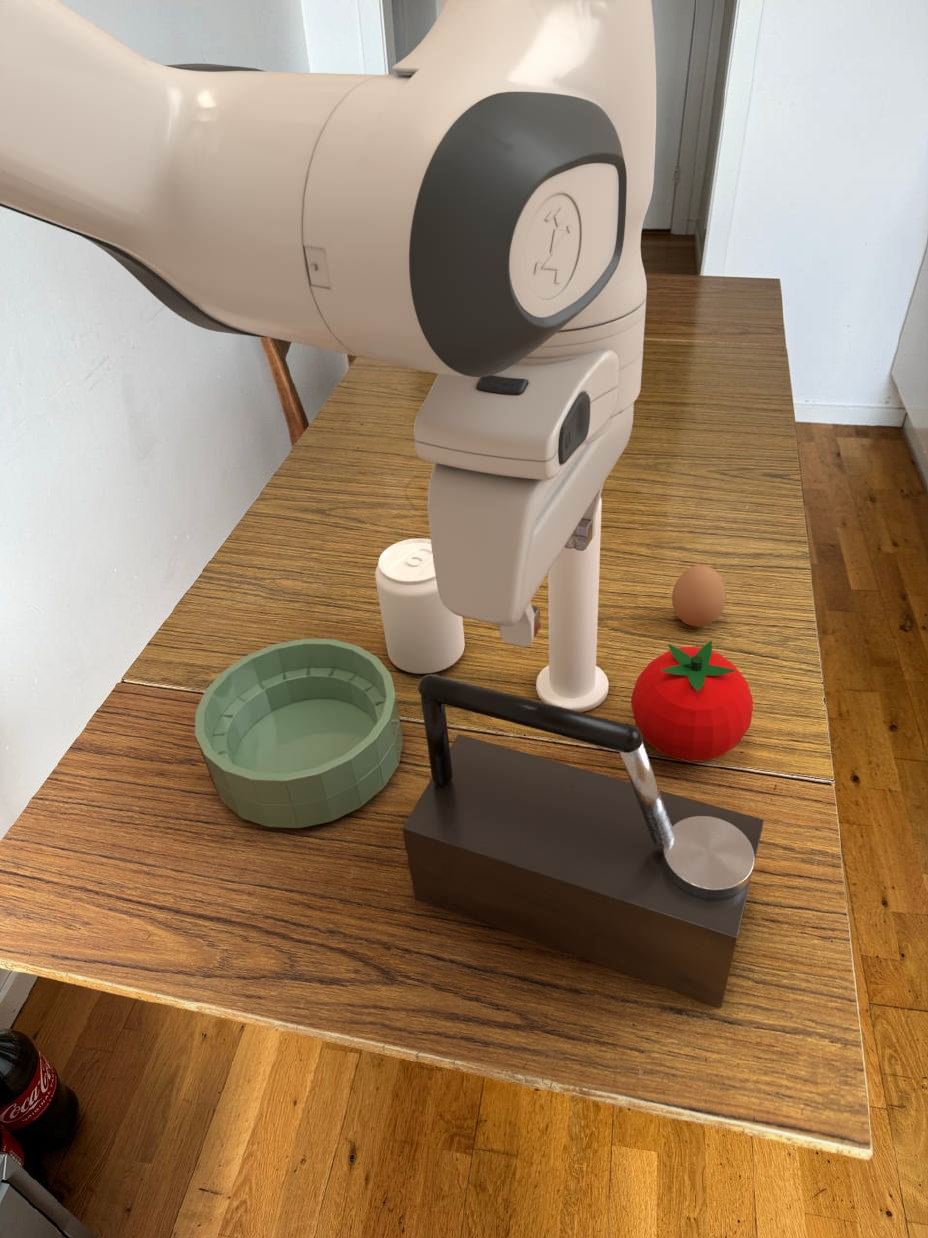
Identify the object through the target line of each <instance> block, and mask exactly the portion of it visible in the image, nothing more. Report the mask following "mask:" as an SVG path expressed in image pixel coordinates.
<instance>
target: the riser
mask: <svg viewBox="0 0 928 1238" xmlns="http://www.w3.org/2000/svg"><path fill="white" fill-rule="evenodd" d="M450 755H451V764H452V772H453V777H452V780H451V781H450V783H449V784H447V785H444V786H440V785H437V784H436V783H435V782H434V781H433V779H432V778H431V779H430V781H429V782H428V783H427V785H426V787H425V789H424V790H423V792H422V794H421V795H420V797H419V799H418V801H417V802H416V804H415V805H414V807H413V809H412V811H411V812H410V814H409V816H408V817H407V819H406V821H405V823H404V824H403V826H402V827H401V830H402V835H403V840H404V846H405V851H406V856H407V862H408V869H409V873H410V878H411V884H412V890H413V895H414V899H416V900H419V901H421V902H423V903H427V904H429V905H432V906H435V907H437V908H440V909H444V910H446V911H449V912H451V913H454V914H457V915H460V916H462V917H466V918H469V919H471V920H474V921H477V922H479V923H483V924H485V925H487V926H491V927H493V928H496V929H499V930H501V931H505V932H507V933H510V934H513V935H516V936H518V937H522V938H524V939H527V940H530V941H533V942H535V943H538V944H540V945H544V946H546V947H548V948H552V949H555V950H558V951H560V952H563V953H566V954H568V955H572V956H574V957H576V958H580V959H583V960H584V961H585V960H586V961H588V962H590V963H594V964H596V965H600V966H601V967H605V968H608V969H610V970H613V971H616V972H619V973H622V974H624V975H626V976H629V977H633V978H635V979H639V980H641V981H644V982H647V983H650V984H652V985H655V986H658V987H661V988H664V989H667V990H669V991H672V992H675V993H677V994H680V995H683V996H686V997H689V998H691V999H694V1000H697V1001H700V1002H703V1003H705V1004H708V1005H711V1006H714V1007H717V1008H720V1009H722V1006H723V1002H724V998H725V994H726V989H727V985H728V980H729V976H730V971H731V967H732V963H733V960H734V954H735V950H736V947H737V941H738V938H739V937H738V936H739V934H740V933H739V932H740V928H741V924H742V920H743V916H744V910H745V906H746V901H747V897H748V893H749V889H750V885H751V880H752V878H751V879H750V881H749V883H748V884H747V886H746V887H745V888H744V889H743V890H742V891H741V892H739V893H738V894H736V895H734V896H732V897H729V898H725V899H719V900H709V899H702V898H699V897H695V896H693V895H690V894H688V893H686V892H685V891H683V890H682V889H680V888H679V887H678V886H676V885H675V884H674V883H673V882H672V880H671V879H670V878H669V876H668V875H667V873H666V871H665V869H664V866H663V862H662V851H663V847H659V846H657V845H656V844H654V842H653V841H652V839H651V836H650V833H649V831H648V828H647V825H646V822H645V820H644V817H643V814H642V812H641V809H640V806H639V803H638V801H637V798H636V795H635V793H634V790H633V787H632V784H631V782H630V781H627V780H625V779H620V778H617V777H615V776H610V775H607V774H603V773H599V772H595V771H592V770H589V769H584V768H581V767H578V766H574V765H570V764H567V763H564V762H560V761H556V760H553V759H550V758H546V757H542V756H538V755H535V754H532V753H528V752H525V751H521V750H517V749H513V748H510V747H506V746H503V745H499V744H496V743H491V742H490V741H485V740H481V739H478V738H474V737H470V736H468V735H463V734H459V733H458V734H457V735H456V736H455V738H454V740H453V742H452V743H451V745H450ZM660 793H661V796H662V799H663V802H664V805H665V808H666V810H667V813H668V816H669V819H670V822H671V825H672V826H674V825H675V824H676V823H678V822H679V821H681V820H683V819H686V818H689V817H694V816H710V817H715V818H719V819H722V820H724V821H727V822H729V823H731V824H732V825H734V826H735V827H737V828H738V829H739V830H740V831H741V832H743V834H744V835H745V836H746V837H747V838H748V840H749V841H750V843H751V845H752V848H753V851H754V857H755V861H754V864H755V863H756V858H757V854H758V850H759V845H760V841H761V836H762V832H763V828H764V822H765V819H764V818H760V817H757V816H753V815H749V814H746V813H742V812H738V811H736V810H733V809H732V810H731V809H728V808H724V807H721V806H717V805H713V804H710V803H707V802H703V801H699V800H696V799H692V798H689V797H685V796H682V795H678V794H674V793H670V792H667V791H663V790H660Z"/></svg>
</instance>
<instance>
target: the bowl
mask: <svg viewBox="0 0 928 1238" xmlns="http://www.w3.org/2000/svg"><path fill="white" fill-rule="evenodd" d="M399 714H400V713H399V708H398V702H397V695H396V690H395V685H394V681H393V676H392V674H391V672H390V671H389V669H387V667H386V666H385V665H384V664H383V662H382V661H381V659H380V658H379V657H377V655H374V653H371V652H369V651H368V650H366V649H364V648H362V647H361V646H359V645H357V644H354V643H349V642H347V641H346V642H345V641H343V640H339V639H333V638H299V639H295V640H290V641H289V640H288V641H283V642H280V643H279V642H277V643H275V644H272V645H269V646H267V647H264V648H261V649H259V650H256V651H254V652H251V653H249V654H247V655H245V656H243V657H241V658H240V659H239V660H237V661H235V662H234V663H233V664H231V665H230V666H228V667H227V668H226V669H224V670H223V671H222V672H221V673H220V674H219V675H218V676H217V677H216V678H215V679H214V680H213V681H212V682H211V684H210V685H209V686H207V688H206V689H205V691H204V692H203V695H202V697H201V699H200V701H199V704H198V706H197V708H196V709H195V713H194V738H195V740H196V743H197V744H198V747H199V750H200V752H201V755H202V758H203V761H204V764H205V767H206V768H207V772H208V774H209V777H210V780H211V782H212V784H213V786H214V788H215V790H216V793H217V795H218V797H219V799H220V801H221V803H223V804H224V805H225V806H227V808H228V809H230V810H231V811H232V812H234V813H235V814H236V815H237V816H238V817H240V818H241V819H244V820H247V821H250V822H253V823H255V824H259V825H261V826H264V827H268V828H286V829H302V828H306V827H311V826H316V825H320V824H321V825H322V824H325V823H326V824H327V823H332V822H333V821H335V820H338V819H340V818H342V817H344V816H346V815H348V814H350V813H351V812H354V811H356V810H358V809H361V808H362V807H363V806H364V805H365V804H366V803H367V802H369V801H370V800H371V799H372V798H373V797H375V796H376V795H377V794H378V793H380V792H381V791H382V790H383V789H384V788H385V787H386V785H387V784H388V782H389V781H390V780H391V777H392V776H393V775H394V773H395V772H396V770H397V768H398V766H399V764H400V759H401V755H402V749H403V746H404V738H403V732H402V731H403V730H402V726H401V720H400V715H399Z"/></svg>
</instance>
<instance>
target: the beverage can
mask: <svg viewBox="0 0 928 1238" xmlns="http://www.w3.org/2000/svg"><path fill="white" fill-rule="evenodd" d="M377 563H378V564H377V566H376V568H375V572H374V578H375V584H376V591H377V597H378V603H379V608H380V614H381V622H382V627H383V632H384V638H385V639H384V640H385V645H386V650H387V656H388V659H389V660H390V662H391V663H392V664H393V666H395V667H396V668H398V669H399V670H402V671H405V672H407V673H410V674H416V675H417V674H418V675H429V674H434V673H438V672H441V671H445V670H446V669H449V668H450V667H451V666H453V665H454V664H456V663H457V662H458V661H459V659H460V658H461V657H462V655H463V653H464V651H465V648H466V647H465V646H466V645H465V632H464V631H465V630H464V620H463V617H461V616H458V615H456V614H454V613H452V612H451V611H450V610H449V609H448V608H447V607H446V606H444V604H443V603H442V601H441V598H440V595H439V591H438V587H437V581H436V575H435V569H434V562H433V555H432V547H431V539H430V538H422V537H421V538H410V539H404V540H400V541H398V542H396V543H393V544H391V545H390V546H388V547H387V548H386V549H384V551H382V552H381V554H380V556H379V558H378V562H377Z"/></svg>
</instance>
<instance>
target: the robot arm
mask: <svg viewBox="0 0 928 1238" xmlns="http://www.w3.org/2000/svg"><path fill="white" fill-rule="evenodd" d="M653 13H654V12H653V4H652V0H441V12H440V13H439V15H438V17H437V19H436V20H435V22H434V23H433V25H432V26H431V28H430V30H429V31H428V32H427V33H426V35H425V36H424V38H423V39H422V40H421V41H420V43H419V44H418V45H416V47H415V48H414V49H413V50H411V52H410V53H409V54H407V56H405V57H404V58H402V59H401V60H400V61H398V62H397V63H396V64H394V65H393V66H392V68H391V69H392V71H393V72H396V73H404V74H365V73H363V74H361V73H330V72H327V73H326V72H299V71H298V72H295V71H268V70H267V71H266V70H263V69H260V68H254V67H247V66H246V67H245V66H238V65H237V66H236V65H227V64H226V65H225V64H215V63H180V64H179V63H178V64H160V63H158V62H155V61H152V60H150V59H148V58H146V57H145V56H143V55H142V54H139V53H138V52H136V51H135V50H133V49H131V48H130V47H129V46H127V45H125V44H124V43H123V42H121V41H120V40H118V39H116V38H115V37H113V36H112V35H110V34H109V33H107V32H106V31H104V29H102V28H100V27H99V26H97V25H95V24H94V23H93V22H91V21H90V20H88V19H86V18H85V17H84V16H82V15H81V14H79V13H78V12H76V11H74V10H73V9H71V7H68V6H67V5H66V4H64V3H62V2H61V1H59V0H0V207H1V208H4V209H7V210H9V211H12V212H15V213H18V214H20V215H23V216H26V217H28V218H31V219H34V220H36V221H39V222H43V223H45V224H47V225H49V226H52V227H56V228H59V229H60V230H64V231H67V232H69V233H72V234H75V235H77V236H79V237H81V238H83V239H85V240H86V241H89V242H91V243H92V244H94V245H95V246H97V247H98V248H100V249H101V250H102V251H104V252H106V253H107V254H108V255H109V256H110V257H112V258H113V259H114V260H115V261H116V262H118V263H119V264H120V265H121V266H122V267H123V268H125V270H126V271H128V272H129V274H131V275H132V276H133V277H134V278H135V279H136V280H137V281H138V282H139V283H140V284H141V285H142V286H143V287H144V288H145V289H146V290H148V292H150V293H151V294H152V295H153V296H154V297H155V298H156V299H157V300H158V301H159V302H161V303H162V304H163V305H164V306H165V307H166V308H168V309H169V310H171V312H173V313H175V314H176V315H177V316H178V317H180V318H182V319H184V320H185V321H187V322H188V323H191V324H193V325H195V326H197V327H200V328H202V329H204V330H209V331H212V332H218V333H224V334H232V335H240V336H241V335H242V336H247V337H255V338H256V337H257V338H271V339H276V340H282V341H285V342H289V343H293V344H299V345H303V346H309V347H312V348H318V349H322V350H326V351H330V352H335V353H340V354H343V355H349V356H353V357H357V358H363V359H367V360H371V361H376V362H380V363H385V364H389V365H393V366H397V367H402V368H406V369H412V370H417V371H422V372H426V373H433V374H436V375H437V376H436V377H435V379H434V382H433V384H432V386H431V388H430V390H429V392H428V394H427V396H426V397H425V399H424V401H423V403H422V404H421V406H420V408H419V410H418V412H417V414H416V417H415V419H414V424H413V438H414V440H413V441H414V446H415V452H416V455H417V458H419V459H420V460H422V461H427V462H431V463H434V464H433V467H432V470H431V471H430V472H431V473H430V477H429V481H428V488H427V518H428V528H429V539H431V547H432V555H433V562H434V569H435V575H436V581H437V587H438V591H439V595H440V598H441V601H442V603H443V604H444V606H446V607H447V608H448V609H449V610H450V611H451V612H452V613H454V614H456V615H458V616H461V617H462V618H464V619H469V620H472V621H476V622H479V623H485V624H490V625H493V626H498V627H499V628H498V629H499V637H500V638H501V640H502V641H503V642H504V643H506V644H509V645H513V646H518V647H522V648H528V647H530V646H531V645H532V643H533V642H534V639H535V638H536V636H537V634H538V632H539V631H540V629H541V622H540V620H541V606H537V605H532V602H531V601H532V599H533V598H534V597H535V595H536V594H537V592H538V590H539V589H540V587H541V585H542V584H543V582H544V580H545V579H546V578H547V576H548V572H549V571H550V569H551V567H552V566H553V564H554V562H555V561H556V559H557V558H558V556H559V554H560V553H561V551H562V550H563V548H564V547H565V548H569V549H571V548H575V549H576V550H580V551H583V550H585V549H586V548H587V546H588V545H589V543H590V541H591V540H592V539H593V537H594V535H595V516H596V513H597V509H598V505H599V501H600V497H601V498H602V493H603V488H604V484H605V482H606V480H607V478H608V477H609V475H610V473H611V472H612V470H613V468H614V467H615V465H616V464H617V463H618V460H619V458H620V457H621V455H622V454H623V452H624V451H625V449H626V447H627V446H628V444H629V441H630V439H631V434H632V430H633V425H634V412H635V401H637V399H638V398H639V395H640V393H641V390H642V389H641V388H642V373H643V359H644V340H645V327H646V310H647V309H646V308H647V293H648V292H647V290H648V287H647V285H648V284H647V277H646V272H645V268H644V263H643V260H642V250H641V243H642V242H641V241H642V231H643V225H644V221H645V217H646V214H647V212H648V209H649V205H650V203H651V199H652V196H653V191H654V180H655V162H656V143H657V142H656V139H657V138H656V137H657V61H656V39H655V38H656V37H655V25H654V16H653V15H654V14H653Z"/></svg>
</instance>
